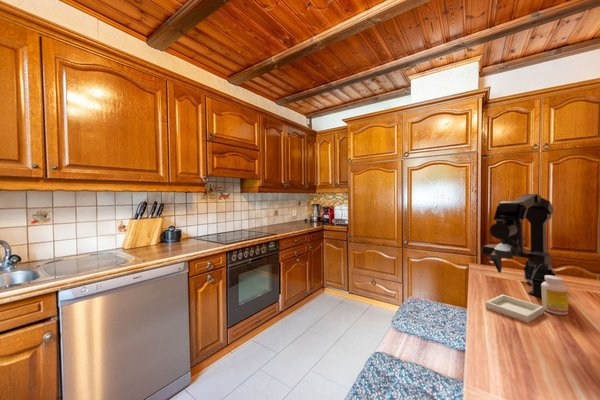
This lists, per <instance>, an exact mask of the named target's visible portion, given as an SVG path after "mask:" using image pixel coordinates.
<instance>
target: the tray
mask: <svg viewBox="0 0 600 400" xmlns="http://www.w3.org/2000/svg"><path fill="white" fill-rule="evenodd" d="M485 309H488V310H490V311H492V312H495V311H496V313H498V314H501V315H504V316H506V317H509V318H511V319H512V318H513V319H515V320H517V321H519V322H520V321H521V322H524V323H526V324H529V323H530V322H532V321H534V320H536V319H537V318H539V317H541V316H543V315H544V314H545V310H544V307H543V306H542V305H539V304H536V303H532V302H529V301H526V300H523V299H519V298H516V297H512V296H511V295H510V296H509V295H505V294H500V295H498V296H496V297H493V298H491V299H489V300H487V301H485Z"/></svg>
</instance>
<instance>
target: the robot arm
mask: <svg viewBox="0 0 600 400" xmlns="http://www.w3.org/2000/svg"><path fill="white" fill-rule="evenodd" d="M553 214H554V207H553V205H552V203H551V201H549V200H547V199H545V198H544V197H541V195H540V194H538V193H525V194H522V195H521V196H520V197H518V198H515V199H514V200H511V201H509V200H508V201H505V200H504V201H500V202H499V204H497V206H496V209H495V213H494V216H493V220H494V221H495V223H493V224H492V225H491V227H490V228H489V233H490V235H491V236H492V237H493V238H495V239H498V240H500V242H499V243H497V245H496V244H495V245H494V244H486V245H484V246H482V247H481V254H485V256H486V257H489V258H490V259H491V260H492V263H493V264H494V267H496V270H497V273H498V274H499V273H500V274H501V273H502V269H503V267H502V263H503V262H502V258H503V259H504V258H505V259H509V260H510V259H513V258H514V257H518V258H525V259H528V260H526V262H525V266H524V269H523V270H524V273H525V277H526V279H529V280H532V284H531V290H530V291H529V292H528V295H532V296H535V297H539V298H542V291H541V284H542V283H543V282H545V281H546V280H545V275H552V276H557V274H556V272H555V270H553V264H552V263H551V262H552V255H551V254H550V253H549V252H547V224H548V222H549V221H550V220H551V219H552V215H553ZM525 219H526V221H528V222H529V225H530V252H526V248H525V247H524V244H525V243H524V241H525V240H526V236H525V237H524V224H523V222H524V220H525Z"/></svg>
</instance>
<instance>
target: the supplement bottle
mask: <svg viewBox="0 0 600 400" xmlns="http://www.w3.org/2000/svg"><path fill="white" fill-rule="evenodd" d="M545 280H546V281H545V282H543V283H542V284H541V291H542V297H541V306H543V307H544V311H546V312H548V313H550V314H554V315H559V316H560V315H561V316H566V315H568V314H569V300H568V297H569V296H568V288H567V286H566V285H565V284H563V283H564V278H562V277H560V276H557V275H556V276H552V275H545Z"/></svg>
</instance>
